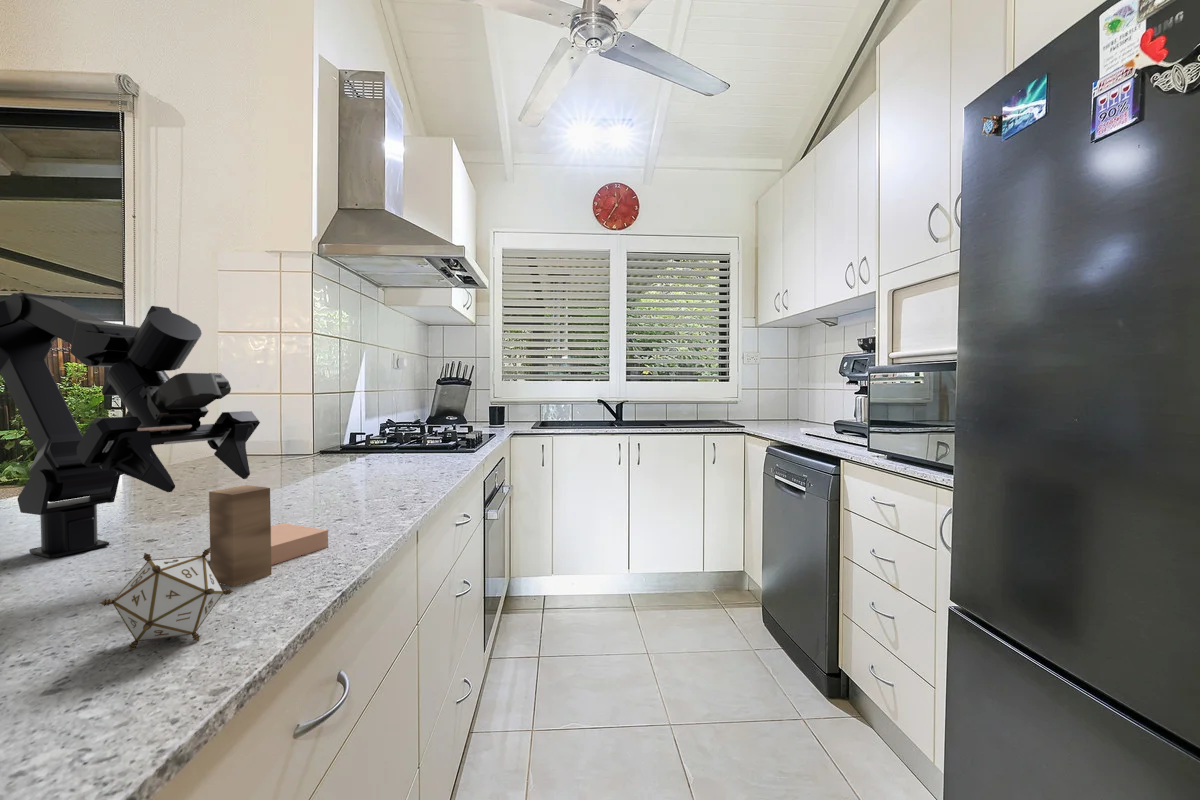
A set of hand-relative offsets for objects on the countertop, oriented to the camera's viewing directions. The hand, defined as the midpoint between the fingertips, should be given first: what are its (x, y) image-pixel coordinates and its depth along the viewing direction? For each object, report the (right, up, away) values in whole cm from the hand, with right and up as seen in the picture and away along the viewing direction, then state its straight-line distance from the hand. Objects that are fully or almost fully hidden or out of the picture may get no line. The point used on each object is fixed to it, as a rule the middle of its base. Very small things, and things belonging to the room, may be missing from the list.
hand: (212, 482), depth 66 cm
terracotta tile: (+2, -11, +8) cm, 14 cm away
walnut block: (+5, -12, -1) cm, 13 cm away
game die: (+9, -12, -17) cm, 23 cm away
